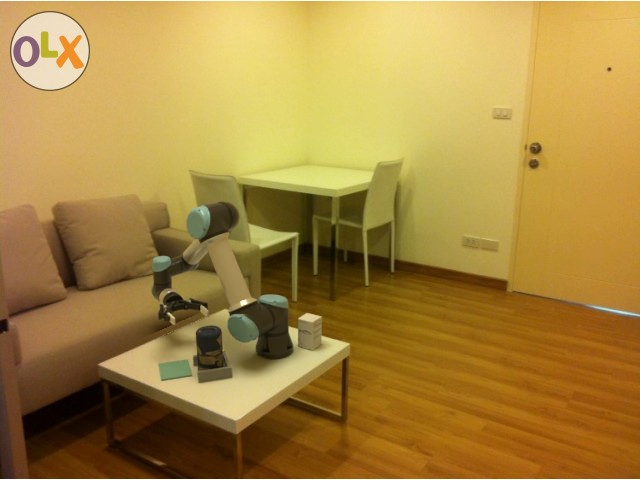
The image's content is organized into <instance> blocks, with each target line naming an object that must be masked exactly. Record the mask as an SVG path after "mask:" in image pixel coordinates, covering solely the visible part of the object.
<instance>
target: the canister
mask: <svg viewBox="0 0 640 480" xmlns="http://www.w3.org/2000/svg"><path fill="white" fill-rule="evenodd" d="M222 332H223V331H222V328H221V327H219V326H218V325H211V324H210V325H203V326H201V327H199V328H198V329H197V330H196V331H195V343H196V345H195V346H196V355H197V362H198V366H197V372H198V371H203V370H209V369H216V368H222V367H224V364H223V351H224V350H223V333H222Z"/></svg>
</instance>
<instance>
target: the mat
mask: <svg viewBox="0 0 640 480" xmlns="http://www.w3.org/2000/svg"><path fill="white" fill-rule="evenodd" d="M158 368H159V374H160V379H161V382H164V381H168V380H169V381H170V380H171V381H172V380H176V379H177V380H178V379H181V378H189V377H190V378H191V377H193V373H192V368H191V365H190V361H189V358H187V359H180V360H173V361H167V362H159V363H158Z"/></svg>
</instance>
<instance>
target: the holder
mask: <svg viewBox="0 0 640 480" xmlns="http://www.w3.org/2000/svg"><path fill="white" fill-rule="evenodd" d="M192 364H193V367H198V362H197V354H194V355H192ZM232 378H233V368H232V365H231V362H230V360H229V358H228V355H227V353H226V351H225V350H223V367H222V368H216V369H209V370H203V371H198V370H197V382H198V384H201V383H205V382H212V381H218V380H226V379H232Z"/></svg>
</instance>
